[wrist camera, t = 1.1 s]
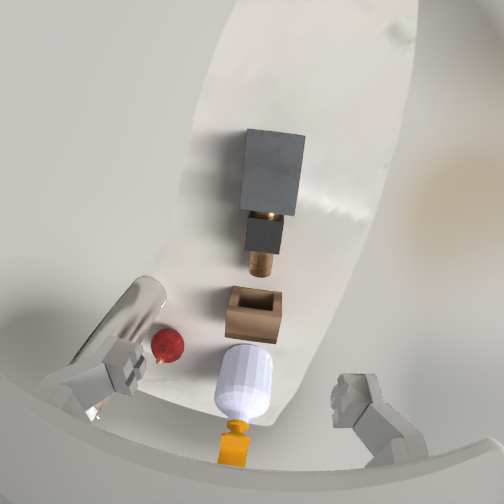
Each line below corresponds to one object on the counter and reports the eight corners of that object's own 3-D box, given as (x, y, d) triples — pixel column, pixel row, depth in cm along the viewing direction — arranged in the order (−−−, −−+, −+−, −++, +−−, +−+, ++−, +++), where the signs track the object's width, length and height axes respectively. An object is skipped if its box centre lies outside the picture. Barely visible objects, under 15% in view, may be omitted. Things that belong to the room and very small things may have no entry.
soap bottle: (276, 346, 46) (267, 477, 24) (268, 377, 50) (257, 492, 28) (225, 339, 47) (192, 466, 24) (223, 371, 51) (196, 483, 28)
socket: (233, 285, 42) (226, 310, 36) (281, 292, 41) (281, 317, 36) (231, 311, 44) (224, 337, 38) (277, 317, 44) (275, 344, 38)
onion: (164, 314, 46) (147, 344, 39) (193, 329, 46) (180, 361, 39) (156, 334, 48) (140, 363, 41) (183, 348, 49) (171, 378, 42)
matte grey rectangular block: (253, 129, 32) (247, 128, 26) (300, 135, 32) (305, 135, 26) (246, 195, 36) (239, 209, 30) (291, 201, 35) (294, 216, 30)
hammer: (259, 140, 32) (255, 141, 27) (291, 144, 32) (294, 146, 27) (246, 262, 39) (241, 282, 34) (274, 266, 39) (273, 287, 34)
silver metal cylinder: (147, 312, 46) (80, 423, 24) (126, 283, 44) (43, 389, 21) (174, 301, 44) (107, 426, 22) (152, 270, 42) (64, 387, 20)
